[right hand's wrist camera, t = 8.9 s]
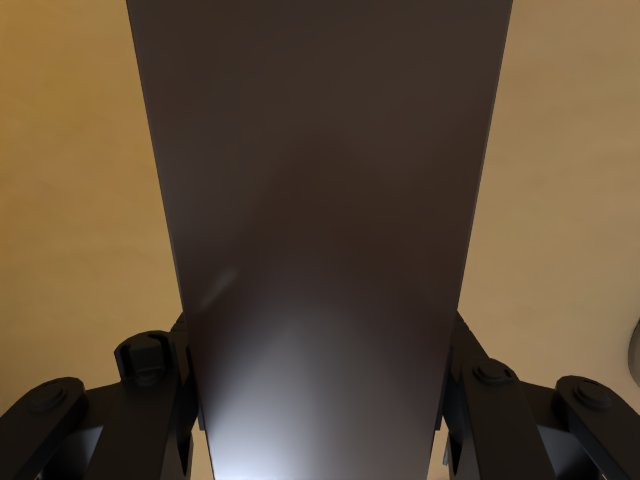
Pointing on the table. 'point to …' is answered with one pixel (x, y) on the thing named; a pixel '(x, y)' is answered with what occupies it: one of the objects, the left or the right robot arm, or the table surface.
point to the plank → (319, 216)
